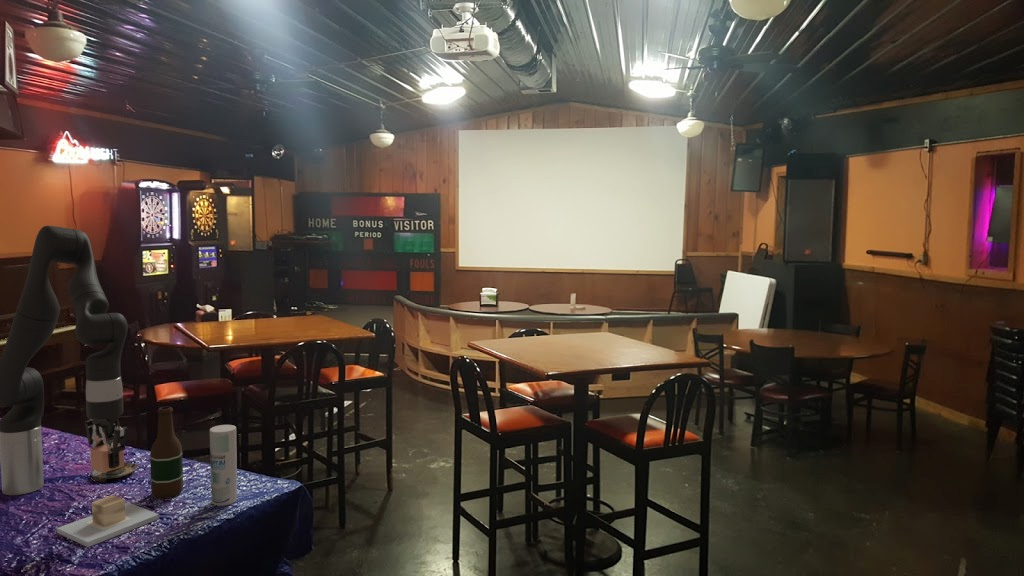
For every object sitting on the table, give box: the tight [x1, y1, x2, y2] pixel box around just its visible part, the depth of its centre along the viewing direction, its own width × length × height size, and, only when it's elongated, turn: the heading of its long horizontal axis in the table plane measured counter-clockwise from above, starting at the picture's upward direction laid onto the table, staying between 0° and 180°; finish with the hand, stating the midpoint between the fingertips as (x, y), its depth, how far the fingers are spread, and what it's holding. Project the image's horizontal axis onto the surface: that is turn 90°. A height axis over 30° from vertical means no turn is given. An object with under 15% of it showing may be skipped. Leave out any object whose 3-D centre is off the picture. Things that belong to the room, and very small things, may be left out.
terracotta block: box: [89, 443, 125, 473], centre depth 159 cm, size 5×5×5 cm
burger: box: [90, 461, 139, 483], centre depth 192 cm, size 12×12×8 cm
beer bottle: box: [149, 406, 184, 500], centre depth 179 cm, size 8×8×24 cm
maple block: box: [91, 494, 126, 527], centre depth 161 cm, size 5×5×5 cm
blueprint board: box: [56, 502, 160, 548], centre depth 161 cm, size 13×17×1 cm
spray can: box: [209, 424, 238, 507], centre depth 175 cm, size 6×6×20 cm
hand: (107, 464), depth 159 cm, fingers closed on terracotta block, 5 cm apart
